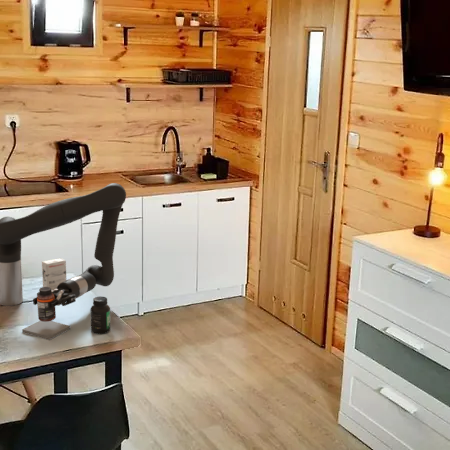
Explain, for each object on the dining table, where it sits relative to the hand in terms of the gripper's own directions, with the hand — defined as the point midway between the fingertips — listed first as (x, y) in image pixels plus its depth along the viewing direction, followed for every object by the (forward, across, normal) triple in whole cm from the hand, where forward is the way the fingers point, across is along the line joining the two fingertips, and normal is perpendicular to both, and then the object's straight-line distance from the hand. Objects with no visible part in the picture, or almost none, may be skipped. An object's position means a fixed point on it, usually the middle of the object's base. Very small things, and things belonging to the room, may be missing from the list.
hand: (41, 303), depth 244 cm
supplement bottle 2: (-12, +16, +11) cm, 23 cm away
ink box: (-37, -26, +12) cm, 47 cm away
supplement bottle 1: (-2, 0, +7) cm, 7 cm away
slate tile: (-2, 0, +11) cm, 11 cm away
